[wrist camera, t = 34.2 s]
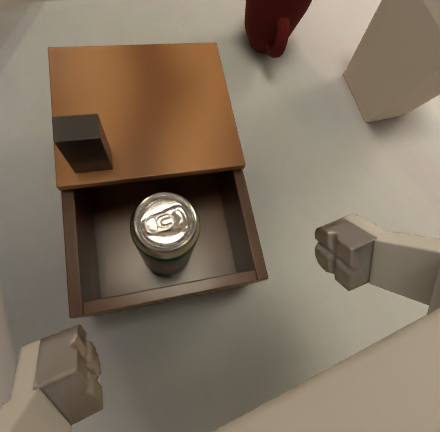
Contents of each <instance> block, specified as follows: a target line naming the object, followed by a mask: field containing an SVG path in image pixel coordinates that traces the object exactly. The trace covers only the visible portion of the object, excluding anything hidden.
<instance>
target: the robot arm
mask: <svg viewBox="0 0 440 432" xmlns="http://www.w3.org/2000/svg"><path fill="white" fill-rule="evenodd" d="M315 239H316V240H317V241H319V242H318V243H317V245H316V247H315V256H316V258H317V261H318V263H319V264H320V266H321V267H322V268H323V269H324V270H325V271H326V272H329V273H333V274H334V275H335V280H336V281H338V282H339V283H340V284H341V285H342V286H343V287H344V288H346V289H347V290H348V291H350V290H353V289H355V288H357V287H359V286H362V285H364V284H366V283H370V284H372V285H375V286H378V287H380V288H383V289H386V290H389V291H391V292H394V293H397V294H399V295H402V296H405V297H408V298H410V299H413V300H416V301H418V302H421V303H424V304H427V305H429V308H428V312H427V315H425V316H424V317H422V318H420V319H418V320H416V321H414V322H413V323H411V324H409V325H407V326H405V327H403V328H402V329H400V330H398V331H396V332H394V333H392V334H391V335H389V336H387V337H385V338H383V339H381V340H380V341H378V342H376V343H374V344H372V345H370V346H369V347H367V348H365V349H363V350H361V351H359V352H358V353H356V354H354V355H352V356H350V357H348V358H347V359H345V360H343V361H341V362H339V363H337V364H336V365H334V366H332V367H330V368H328V369H326V370H325V371H323V372H321V373H319V374H317V375H316V376H314V377H312V378H310V379H308V380H306V381H305V382H303V383H301V384H299V385H297V386H295V387H294V388H292V389H290V390H288V391H286V392H284V393H283V394H281V395H279V396H277V397H275V398H273V399H272V400H270V401H268V402H266V403H264V404H262V405H261V406H259V407H257V408H255V409H253V410H252V411H250V412H248V413H246V414H244V415H242V416H241V417H239V418H237V419H235V420H233V421H231V422H230V423H228V424H226V425H224V426H222V427H220V428H219V429H217V430H215V431H213V432H440V239H436V238H429V237H423V236H417V235H411V234H404V233H398V232H392V233H389V232H387V231H385V230H384V229H382V228H380V227H378V226H377V225H375V224H373V223H371V222H370V221H368V220H366V219H364V218H362V217H361V216H359V215H357V214H353V213H352V214H349V215H347V216H345V217H342V218H340V219H338V220H336V221H333V222H331V223H328V224H326V225H324V226H321V227H319V228H317V229H316V231H315ZM100 374H101V367H100V361H99V357H98V353H97V351H96V349H95V347H94V345H93V343H92V342H89V341H86V332H85V330H84V329H83V327H82V326H81V325H76V326H73V327H71V328H68V329H66V330H63V331H60V332H58V333H55V334H52V335H50V336H47V337H44V338H42V339H40V340H38V341H35V342H32V343H30V344H27V345H24V346H23V347H22V349H21V350H20V352H19V357H18V362H17V367H16V371H15V376H14V381H13V386H12V390H11V395H10V400H9V401H8V402H6V403H4V404H3V405H2V406H1V407H0V432H70V431H71V428H72V426H71V425H73V424H75V423H77V422H79V421H81V420H83V419H85V418H87V417H89V416H90V415H92V414H94V413H96V412H98V411H100V410H102V409H103V397H102V386H101V385H100V383H99V382H98V378H99V376H100Z"/></svg>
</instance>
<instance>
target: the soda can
mask: <svg viewBox="0 0 440 432" xmlns="http://www.w3.org/2000/svg"><path fill="white" fill-rule="evenodd" d="M130 234H131V237H132V240H133V242H134V244H135V246H136V248H137V249H138V251H139V253H140V255H141V257H142V259H143V261H144V262H145V264H146V266H147V267H148V268H149V269H150V270H151V271H153V272H154V273H156V274H159V275H173V274H176V273H178V272H180V271H181V270H182V269H184V268H185V266H186V265H187V264H188V262H189V260H190V257H191V255H192V252H193V250H194V247H195V245H196V242H197V240H198V237H199V234H200V219H199V215H198V213H197V211H196V209H195V208H194V206H193V205H192V204H191V203H190V202H189V201H188V200H187V199H185V198H183V197H182V196H179V195H177V194H173V193H167V192H165V193H157V194H154V195H151V196H149V197H147V198H146V199H144V200H143V201H142V202H141V203H140V204H139V205H138V206H137V207H136V208H135V210H134V212H133V214H132V216H131V219H130Z"/></svg>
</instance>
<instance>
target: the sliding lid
mask: <svg viewBox="0 0 440 432" xmlns="http://www.w3.org/2000/svg"><path fill="white" fill-rule="evenodd" d="M48 58H49V74H50V90H51V106H52V125H53V141H54V153H55V169H56V185H57V188H58V189H59V190H69V189H77V188H86V187H94V186H102V185H111V184H119V183H128V182H136V181H145V180H153V179H161V178H170V177H178V176H187V175H195V174H204V173H212V172H220V171H229V170H237V169H244V167H245V161H244V157H243V153H242V148H241V144H240V140H239V136H238V132H237V128H236V123H235V119H234V115H233V111H232V107H231V103H230V98H229V94H228V90H227V86H226V82H225V78H224V73H223V69H222V65H221V61H220V57H219V53H218V48H217V44H216V43H183V44H149V45H115V46H81V47H48Z"/></svg>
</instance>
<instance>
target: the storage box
mask: <svg viewBox="0 0 440 432" xmlns="http://www.w3.org/2000/svg"><path fill="white" fill-rule="evenodd" d="M165 192H167V193H173V194H177V195H179V196H182V197H183V198H185V199H187V200H188V201H189V202H190V203H191V204H192V205H193V206H194V208H195V209H196V211H197V213H198V215H199V219H200V234H199V237H198V240H197V242H196V245H195V247H194V250H193V252H192V255H191V257H190V260H189V262H188V264H187V265H186V266H185V268H184V269H182V270H181V271H180V272H178V273H176V274H173V275H159V274H156V273H154V272H153V271H151V270H150V269H149V268H148V267H147V266H146V264H145V262H144V261H143V259H142V257H141V255H140V253H139V251H138V249H137V248H136V246H135V244H134V242H133V240H132V237H131V234H130V219H131V216H132V214H133V212H134V210H135V208H136V207H137V206H138V205H139V204H140V203H141V202H142V201H143V200H144V199H146V198H147V197H149V196H151V195H154V194H157V193H165ZM61 196H62V211H63V226H64V241H65V256H66V271H67V286H68V301H69V316H70V318H78V317H89V316H97V315H102V314H107V313H112V312H117V311H122V310H127V309H132V308H137V307H142V306H147V305H152V304H157V303H162V302H167V301H172V300H177V299H182V298H187V297H191V296H196V295H201V294H206V293H211V292H216V291H221V290H226V289H231V288H236V287H241V286H246V285H249V284H253V283H256V282H259V281H262V280H266V279H268V275H267V271H266V267H265V262H264V258H263V254H262V250H261V245H260V241H259V237H258V233H257V229H256V224H255V220H254V216H253V212H252V207H251V203H250V199H249V195H248V190H247V186H246V182H245V178H244V174H243V169H237V170H229V171H220V172H212V173H204V174H195V175H187V176H178V177H170V178H161V179H153V180H145V181H136V182H128V183H119V184H111V185H102V186H94V187H86V188H77V189H69V190H61Z"/></svg>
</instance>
